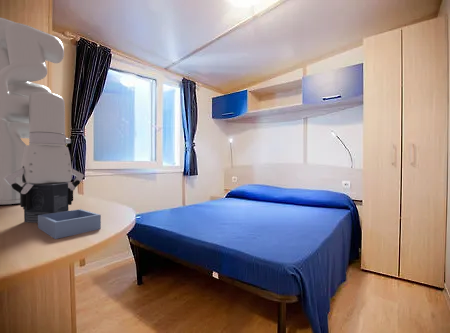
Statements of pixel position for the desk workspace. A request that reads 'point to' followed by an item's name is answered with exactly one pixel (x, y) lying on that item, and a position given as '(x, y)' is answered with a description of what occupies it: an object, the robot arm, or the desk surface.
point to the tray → (69, 223)
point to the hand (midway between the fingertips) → (48, 206)
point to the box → (46, 200)
